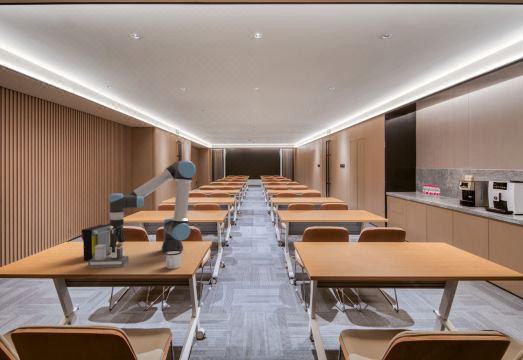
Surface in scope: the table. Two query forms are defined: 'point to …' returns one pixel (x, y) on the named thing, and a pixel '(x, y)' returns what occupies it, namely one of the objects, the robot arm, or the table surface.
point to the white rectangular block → (100, 252)
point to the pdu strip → (108, 262)
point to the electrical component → (96, 240)
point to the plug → (119, 252)
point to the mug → (173, 259)
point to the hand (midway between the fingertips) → (117, 255)
